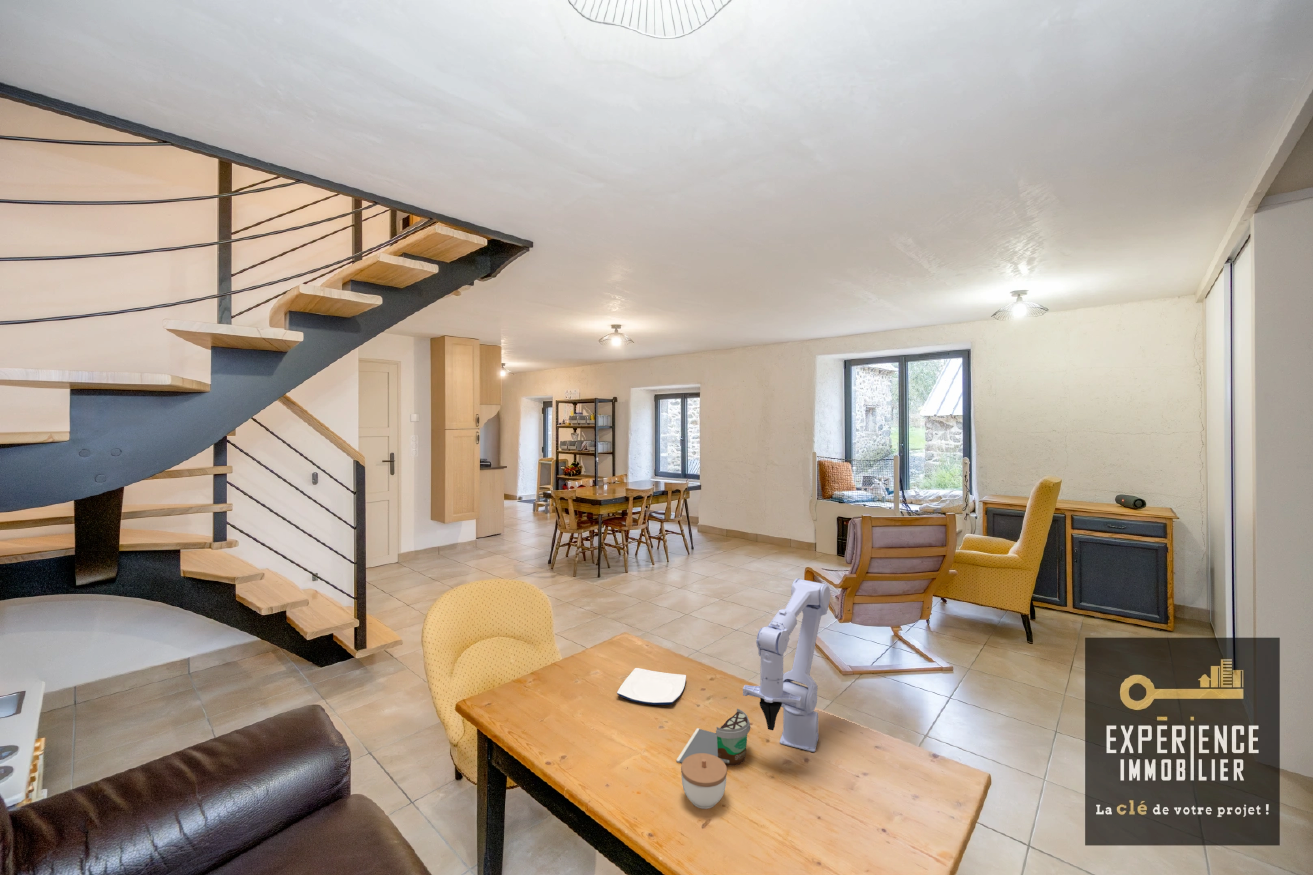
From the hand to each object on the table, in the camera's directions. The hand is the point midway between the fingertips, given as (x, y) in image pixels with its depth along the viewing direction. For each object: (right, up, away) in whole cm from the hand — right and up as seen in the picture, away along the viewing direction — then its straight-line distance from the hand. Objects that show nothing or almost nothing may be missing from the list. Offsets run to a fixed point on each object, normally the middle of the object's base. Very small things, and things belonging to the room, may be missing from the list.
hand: (771, 727), depth 133 cm
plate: (-31, -10, +39) cm, 51 cm away
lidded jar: (-18, -11, -11) cm, 24 cm away
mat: (-16, -10, +8) cm, 21 cm away
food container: (-8, -11, +4) cm, 14 cm away
